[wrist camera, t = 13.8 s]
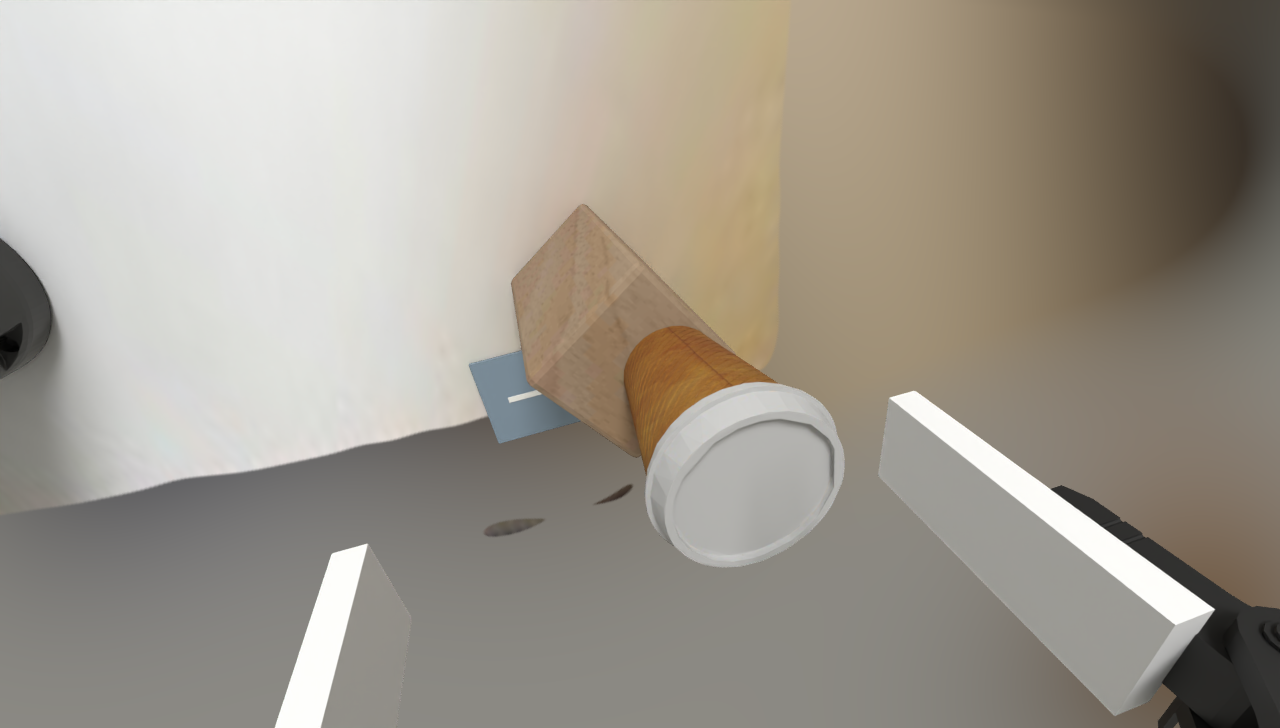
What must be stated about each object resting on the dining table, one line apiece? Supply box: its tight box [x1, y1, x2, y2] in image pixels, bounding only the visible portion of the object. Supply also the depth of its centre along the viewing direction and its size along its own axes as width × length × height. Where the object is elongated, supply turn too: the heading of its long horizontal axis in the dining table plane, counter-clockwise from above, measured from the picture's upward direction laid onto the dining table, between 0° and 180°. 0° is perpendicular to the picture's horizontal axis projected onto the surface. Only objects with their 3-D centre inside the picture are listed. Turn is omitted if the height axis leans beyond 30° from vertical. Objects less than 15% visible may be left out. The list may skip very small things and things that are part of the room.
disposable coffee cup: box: [624, 326, 845, 567], centre depth 28 cm, size 10×10×12 cm
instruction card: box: [469, 351, 580, 443], centre depth 54 cm, size 18×10×1 cm, turn 100°
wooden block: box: [511, 204, 736, 458], centre depth 41 cm, size 10×10×20 cm
